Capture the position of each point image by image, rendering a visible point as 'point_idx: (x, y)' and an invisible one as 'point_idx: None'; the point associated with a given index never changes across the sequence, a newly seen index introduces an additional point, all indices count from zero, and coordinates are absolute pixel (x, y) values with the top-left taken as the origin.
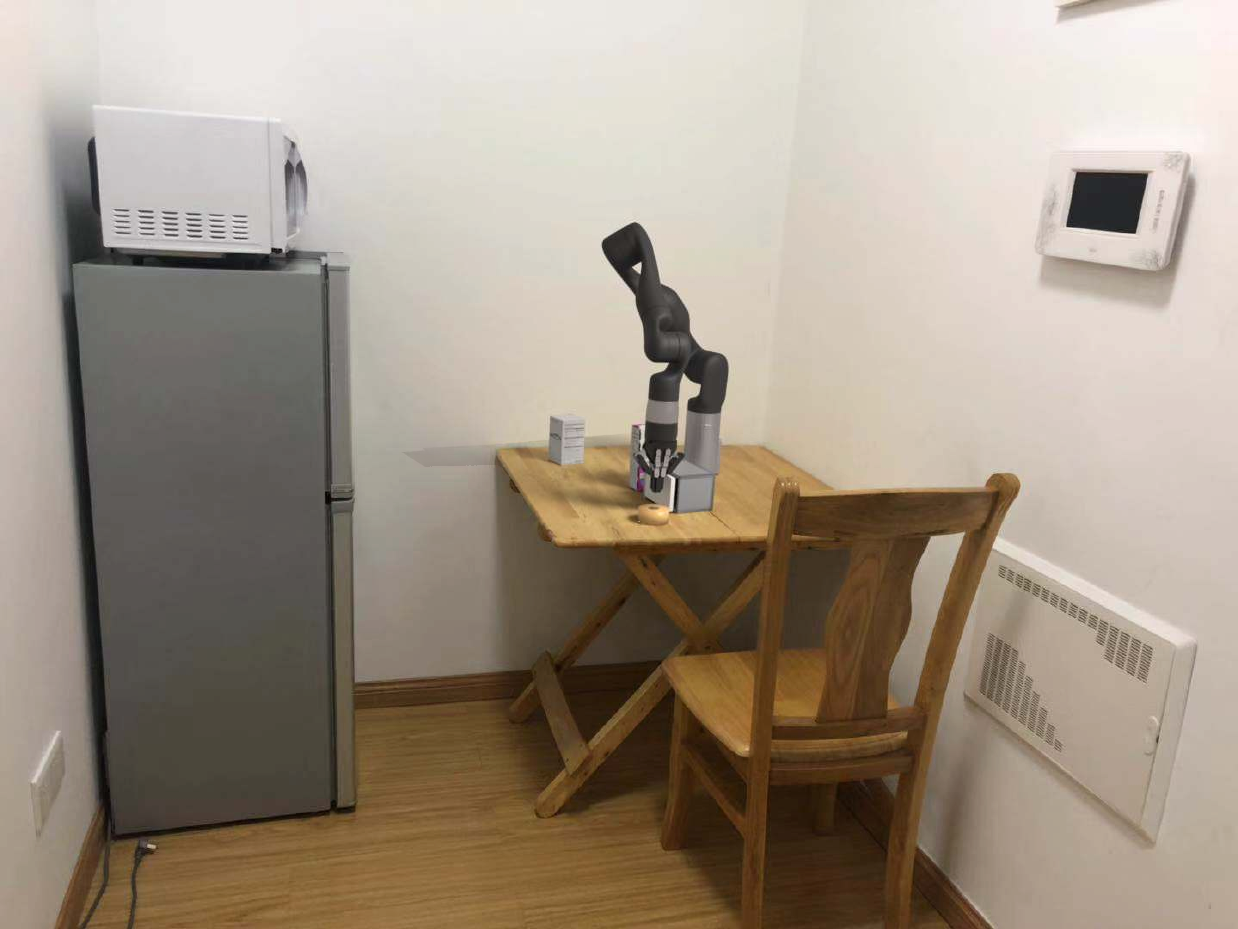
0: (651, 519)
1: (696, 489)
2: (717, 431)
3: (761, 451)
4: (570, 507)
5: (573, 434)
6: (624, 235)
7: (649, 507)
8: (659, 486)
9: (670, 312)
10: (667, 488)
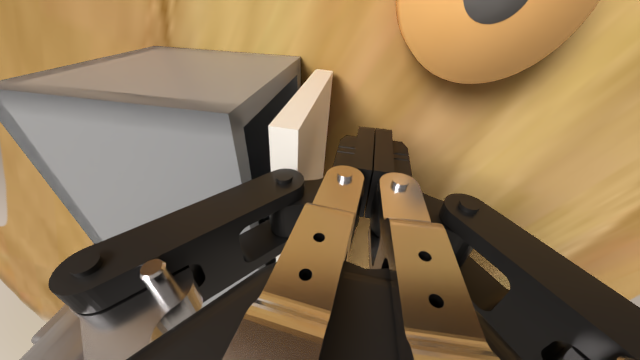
0: None
1: (166, 73)
2: None
3: (34, 303)
4: (596, 245)
5: None
6: None
7: (512, 10)
8: (369, 141)
9: None
10: (313, 137)
